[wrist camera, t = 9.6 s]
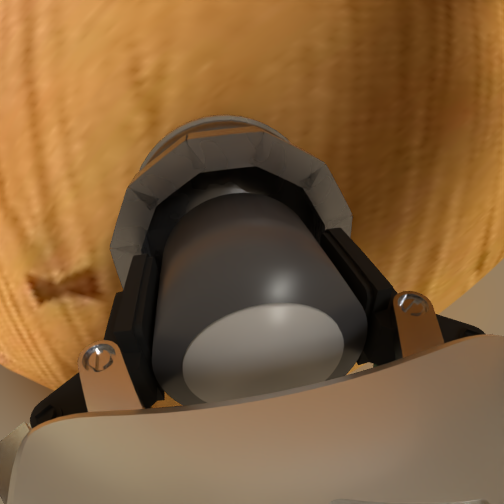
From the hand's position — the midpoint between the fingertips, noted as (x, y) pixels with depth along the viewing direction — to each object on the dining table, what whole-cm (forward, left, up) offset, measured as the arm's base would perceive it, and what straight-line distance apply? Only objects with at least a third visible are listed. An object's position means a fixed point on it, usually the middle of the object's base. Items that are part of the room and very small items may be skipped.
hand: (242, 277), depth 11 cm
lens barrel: (0, 0, -9) cm, 9 cm away
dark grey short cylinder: (0, 0, -1) cm, 1 cm away
